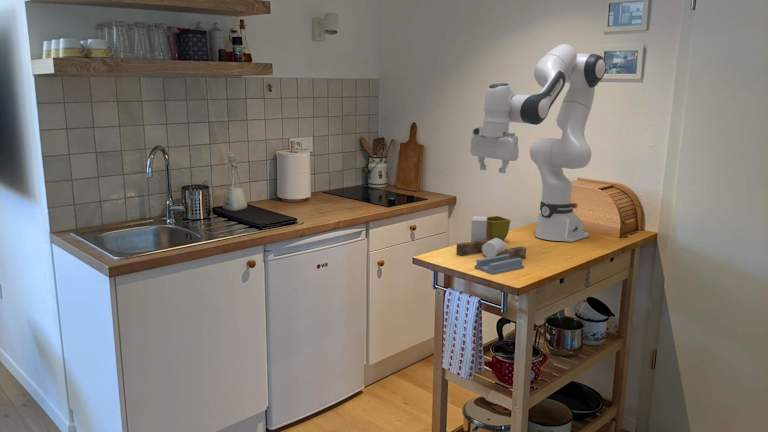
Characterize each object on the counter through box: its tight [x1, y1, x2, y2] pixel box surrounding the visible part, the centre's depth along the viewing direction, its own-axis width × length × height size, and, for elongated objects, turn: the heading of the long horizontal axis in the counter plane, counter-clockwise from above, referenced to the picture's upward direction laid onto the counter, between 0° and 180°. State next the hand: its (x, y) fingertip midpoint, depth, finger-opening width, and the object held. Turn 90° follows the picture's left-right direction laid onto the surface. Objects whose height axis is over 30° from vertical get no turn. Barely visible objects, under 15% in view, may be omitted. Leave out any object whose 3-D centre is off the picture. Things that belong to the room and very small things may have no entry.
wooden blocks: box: [455, 238, 527, 261], centre depth 216 cm, size 17×17×4 cm
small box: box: [470, 215, 488, 242], centre depth 231 cm, size 8×6×10 cm
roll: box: [482, 238, 507, 258], centre depth 220 cm, size 6×12×6 cm, turn 148°
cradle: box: [474, 254, 525, 276], centre depth 202 cm, size 14×8×3 cm, turn 124°
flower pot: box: [486, 215, 511, 242], centre depth 238 cm, size 9×9×9 cm
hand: (492, 171), depth 213 cm, fingers open, 8 cm apart
